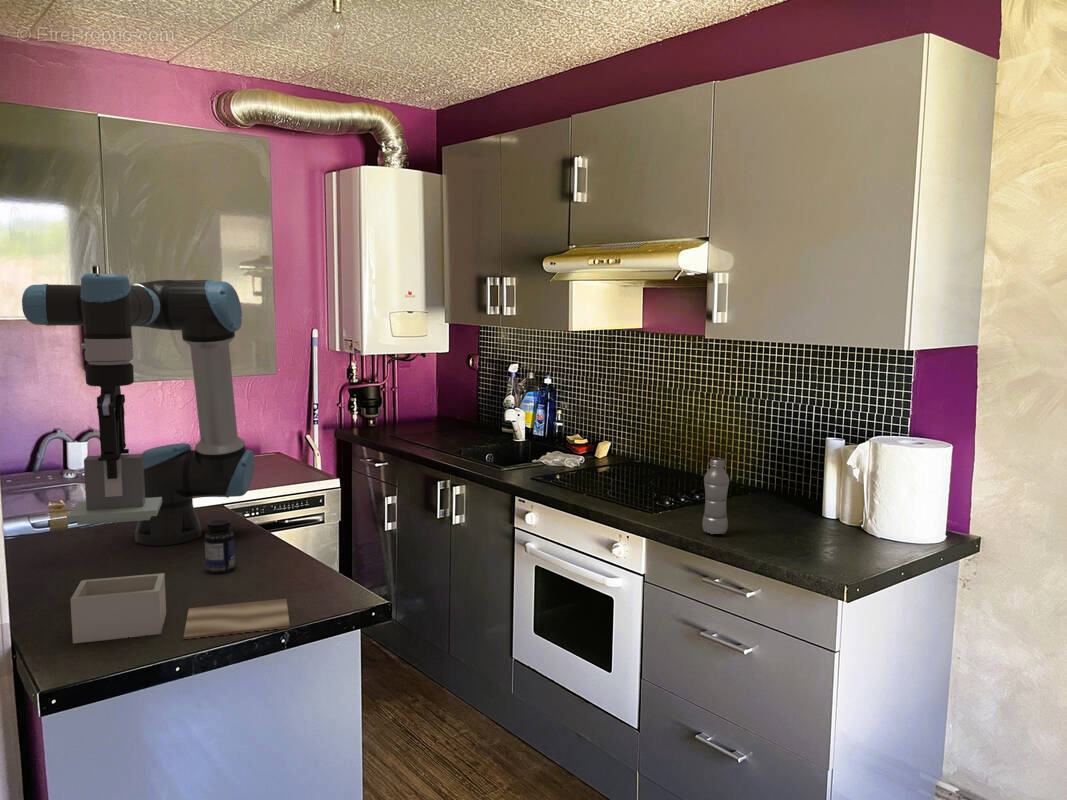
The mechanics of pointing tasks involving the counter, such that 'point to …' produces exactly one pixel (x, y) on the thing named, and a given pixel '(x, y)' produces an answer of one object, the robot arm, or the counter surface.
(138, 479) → the green base grey block
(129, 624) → the storage box
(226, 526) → the pill bottle
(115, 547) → the counter surface
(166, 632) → the counter surface
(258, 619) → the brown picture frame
